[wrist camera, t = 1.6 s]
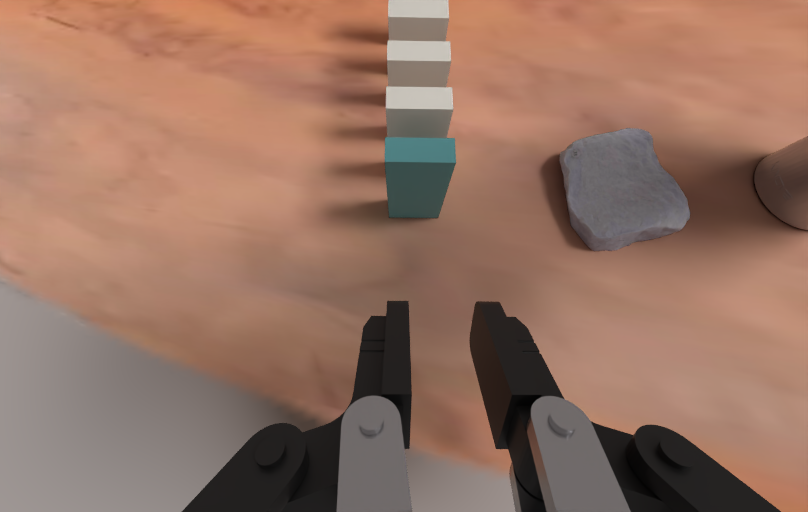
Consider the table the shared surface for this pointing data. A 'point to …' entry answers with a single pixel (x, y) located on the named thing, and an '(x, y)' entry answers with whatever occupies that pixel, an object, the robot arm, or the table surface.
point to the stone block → (620, 190)
